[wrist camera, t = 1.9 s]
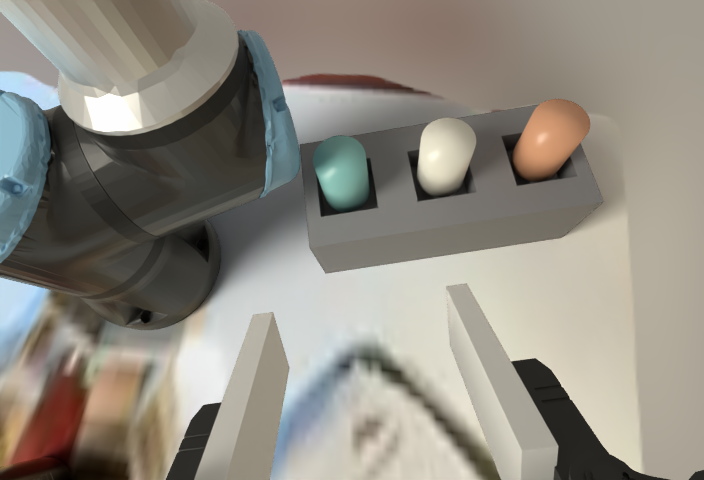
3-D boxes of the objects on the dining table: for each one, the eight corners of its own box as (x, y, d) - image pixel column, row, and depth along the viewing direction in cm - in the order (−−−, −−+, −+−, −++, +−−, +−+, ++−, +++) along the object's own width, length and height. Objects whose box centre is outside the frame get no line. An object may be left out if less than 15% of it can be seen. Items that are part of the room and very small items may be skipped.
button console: (325, 273, 43) (309, 247, 35) (316, 186, 47) (299, 144, 39) (561, 237, 42) (603, 201, 33) (531, 151, 46) (563, 100, 37)
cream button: (421, 200, 36) (426, 167, 31) (412, 160, 38) (416, 122, 32) (468, 193, 36) (482, 158, 30) (457, 153, 38) (469, 113, 32)
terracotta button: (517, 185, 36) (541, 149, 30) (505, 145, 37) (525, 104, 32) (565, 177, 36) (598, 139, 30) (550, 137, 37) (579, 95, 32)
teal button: (327, 215, 37) (315, 186, 31) (322, 175, 38) (310, 140, 33) (372, 208, 36) (369, 177, 31) (366, 168, 38) (361, 131, 32)
